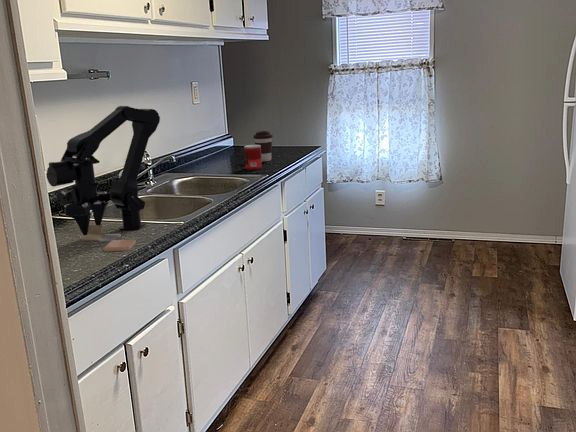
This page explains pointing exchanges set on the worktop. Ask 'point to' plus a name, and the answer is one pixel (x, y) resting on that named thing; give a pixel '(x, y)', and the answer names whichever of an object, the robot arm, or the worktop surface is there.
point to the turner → (98, 234)
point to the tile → (119, 245)
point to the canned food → (253, 157)
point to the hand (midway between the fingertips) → (91, 230)
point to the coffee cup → (264, 144)
